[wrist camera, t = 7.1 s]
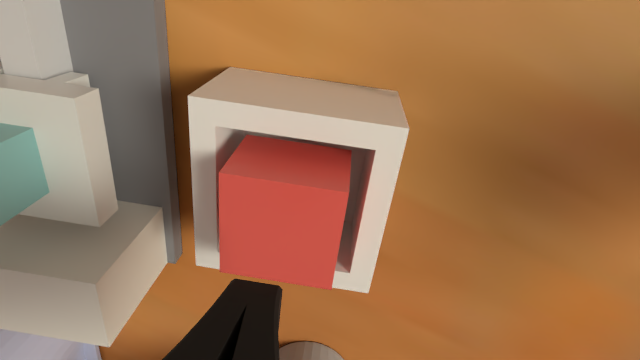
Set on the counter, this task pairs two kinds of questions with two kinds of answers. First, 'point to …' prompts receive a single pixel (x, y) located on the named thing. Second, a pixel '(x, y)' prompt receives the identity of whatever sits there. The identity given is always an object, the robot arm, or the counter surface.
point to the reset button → (283, 210)
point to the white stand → (126, 161)
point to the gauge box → (305, 127)
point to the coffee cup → (308, 352)
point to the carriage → (54, 150)
